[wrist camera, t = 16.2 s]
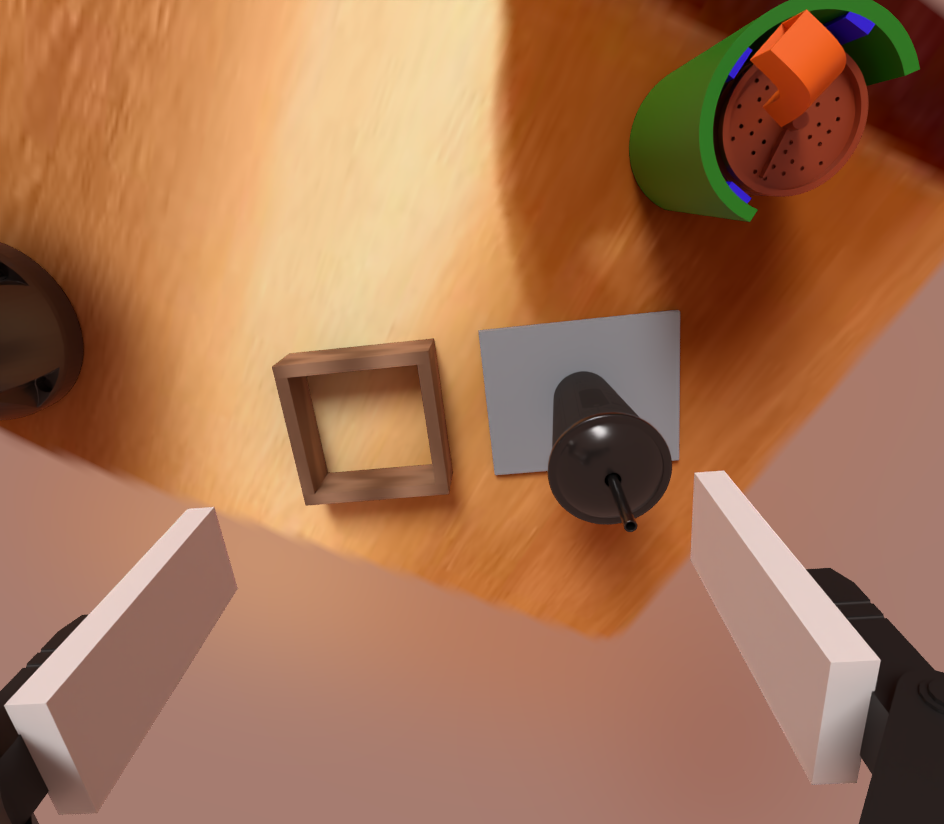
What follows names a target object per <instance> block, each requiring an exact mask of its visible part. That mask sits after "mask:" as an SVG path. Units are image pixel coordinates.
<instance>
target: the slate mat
mask: <svg viewBox="0 0 944 824" xmlns="http://www.w3.org/2000/svg"><path fill="white" fill-rule="evenodd" d="M479 340H480V348H481V357H482V366H483V375H484V383H485V392H486V401H487V410H488V419H489V427H490V436H491V445H492V454H493V462H494V471H495V475H503V474H515V473H528V472H540V471H548V460H549V456H550V453H551V450H552V435H553V399H554V393H555V390H556V388H557V386H558V384H559V383H560V382H561V381H562V380H563V379H564V378H565V377H567V376H568V375H570V374H572V373H575V372H581V371H587V372H592V373H595V374H597V375H599V376H601V377H602V378H603V379H604V380H605V381H606V382H607V383H608V384H609V385H610V386H611V387H612V388H613V389H614V390H615V391H616V393H617V394H618V395H619V396H620V397H621V398H622V399H623V400H624V401H625V402H626V403H627V404H628V405H629V406H630V408H631V409H632V410H633V411H634V412H635V413H636V414H637V415H638V416H639V417H640V418H641V419H643V420H645V421H647V422H648V423H650V424H651V425H652V426H653V427H655V428H656V429H657V430H658V432H659V433H660V434H661V435H662V437H663V438H664V440H665V441H666V443H667V445H668V447H669V450H670V454H671V458H672V461H674V460H679V401H680V311H679V310H671V311H661V312H652V313H642V314H632V315H623V316H613V317H603V318H594V319H584V320H574V321H565V322H555V323H545V324H536V325H526V326H517V327H507V328H497V329H488V330H479Z"/></svg>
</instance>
